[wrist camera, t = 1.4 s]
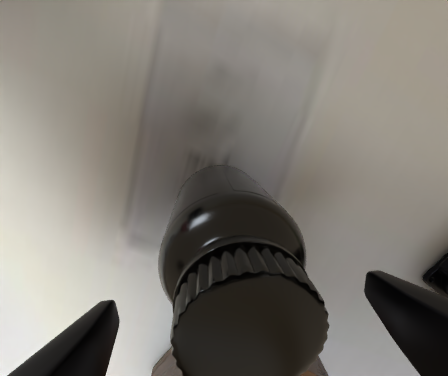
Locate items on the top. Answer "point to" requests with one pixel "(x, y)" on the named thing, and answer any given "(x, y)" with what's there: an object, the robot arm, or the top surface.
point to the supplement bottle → (238, 281)
